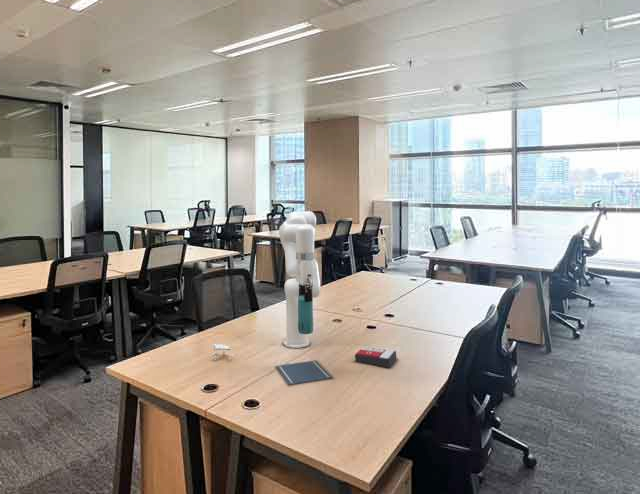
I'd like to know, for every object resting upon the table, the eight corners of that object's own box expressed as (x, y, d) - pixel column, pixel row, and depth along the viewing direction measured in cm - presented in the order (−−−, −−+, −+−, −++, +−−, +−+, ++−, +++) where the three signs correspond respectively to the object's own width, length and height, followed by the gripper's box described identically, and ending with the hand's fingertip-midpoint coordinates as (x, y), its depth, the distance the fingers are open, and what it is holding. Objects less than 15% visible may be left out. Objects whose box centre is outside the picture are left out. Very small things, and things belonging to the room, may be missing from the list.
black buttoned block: (363, 345, 194) (396, 349, 187) (364, 354, 194) (396, 358, 187) (354, 353, 185) (388, 357, 177) (355, 363, 184) (389, 368, 177)
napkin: (276, 366, 180) (276, 366, 180) (315, 361, 185) (315, 360, 185) (289, 385, 163) (289, 384, 163) (332, 378, 168) (332, 377, 168)
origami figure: (205, 360, 188) (205, 348, 188) (215, 353, 195) (215, 342, 195) (229, 363, 183) (229, 352, 184) (238, 356, 191) (238, 345, 191)
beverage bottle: (315, 333, 178) (315, 286, 178) (310, 339, 172) (310, 289, 172) (300, 332, 180) (300, 284, 180) (295, 337, 174) (295, 288, 174)
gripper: (290, 253, 183) (290, 295, 183) (303, 260, 167) (303, 305, 167) (307, 252, 185) (307, 293, 185) (321, 259, 169) (321, 304, 169)
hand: (305, 299), depth 176 cm, fingers closed on beverage bottle, 6 cm apart
